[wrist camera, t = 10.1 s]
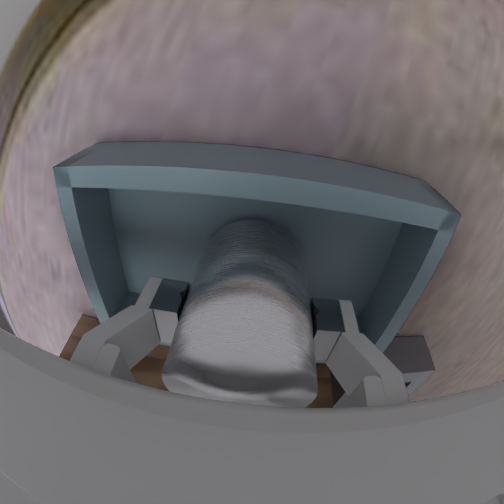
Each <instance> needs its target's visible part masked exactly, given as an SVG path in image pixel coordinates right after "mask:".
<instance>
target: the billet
mask: <svg viewBox="0 0 504 504" xmlns="http://www.w3.org/2000/svg"><path fill="white" fill-rule="evenodd" d="M162 380H163V383H164V385H165V386H166V388H167V389H168V390H169V391H170V392H174V393H179V394H184V395H189V396H195V397H200V398H206V399H212V400H219V401H226V402H233V403H242V404H251V405H262V406H275V407H293V408H305V407H307V406H308V405H309V404H311V403H312V402H313V401H314V399H315V398H316V396H317V392H318V387H317V372H316V359H315V347H314V336H313V326H312V316H311V307H310V298H309V289H308V281H307V273H306V265H305V258H304V253H303V250H302V248H301V246H300V244H299V242H298V241H297V239H296V238H295V237H294V236H293V235H292V234H291V233H290V232H288V231H287V230H286V229H284V228H282V227H281V226H279V225H276V224H274V223H271V222H268V221H263V220H255V219H248V220H240V221H236V222H232V223H230V224H227V225H225V226H223V227H222V228H220V229H219V230H217V231H216V232H215V233H214V234H213V235H212V236H211V237H210V239H209V240H208V242H207V244H206V246H205V249H204V251H203V254H202V257H201V259H200V262H199V265H198V268H197V270H196V273H195V276H194V278H193V281H192V284H191V287H190V290H189V292H188V295H187V298H186V301H185V304H184V307H183V310H182V312H181V315H180V318H179V321H178V324H177V327H176V330H175V333H174V336H173V339H172V342H171V345H170V348H169V351H168V355H167V358H166V361H165V364H164V367H163V370H162Z"/></svg>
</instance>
